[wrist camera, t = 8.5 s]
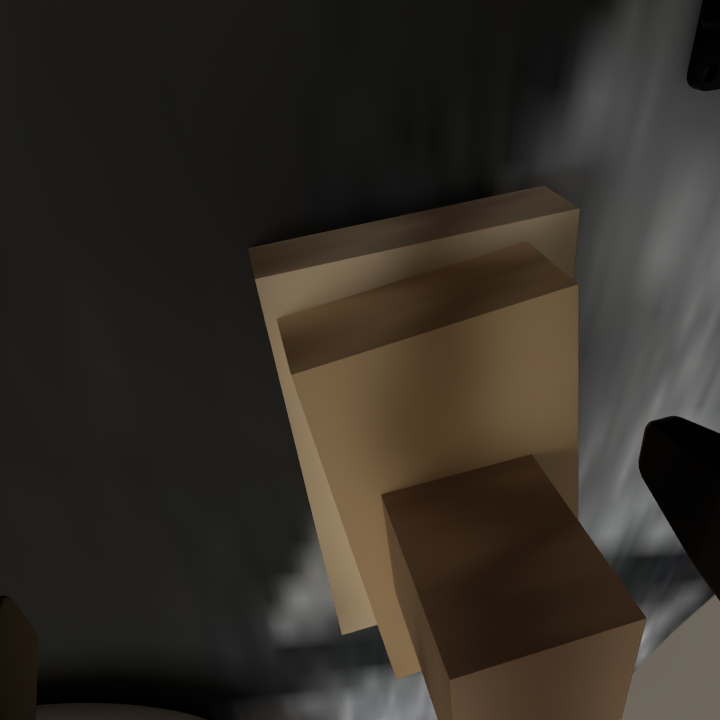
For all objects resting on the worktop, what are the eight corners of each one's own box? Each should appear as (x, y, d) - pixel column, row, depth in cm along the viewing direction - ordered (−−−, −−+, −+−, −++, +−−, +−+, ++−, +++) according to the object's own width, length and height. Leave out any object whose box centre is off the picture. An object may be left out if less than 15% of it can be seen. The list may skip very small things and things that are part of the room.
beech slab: (534, 178, 21) (579, 208, 19) (520, 525, 31) (548, 573, 29) (245, 239, 20) (254, 279, 18) (328, 580, 30) (342, 635, 28)
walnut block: (531, 454, 20) (646, 618, 15) (526, 553, 23) (621, 718, 18) (381, 494, 19) (449, 680, 14) (394, 591, 22) (456, 773, 17)
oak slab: (527, 241, 19) (578, 284, 17) (543, 557, 28) (578, 614, 26) (276, 318, 18) (290, 375, 16) (377, 615, 28) (396, 679, 25)
